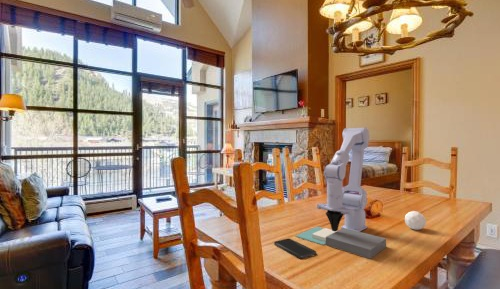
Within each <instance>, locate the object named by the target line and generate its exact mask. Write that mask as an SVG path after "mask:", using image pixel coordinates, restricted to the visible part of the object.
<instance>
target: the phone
mask: <svg viewBox="0 0 500 289" xmlns="http://www.w3.org/2000/svg"><path fill="white" fill-rule="evenodd" d="M273 242H274V243H273V245H274V246H276V247H277V248H279V249H281V250H282V251H285V252H286V253H288V254H289V255H291V256H293V257H295V258H296V259H299V260H304V259H307V258H310V257H314V256H317V251H316V250H314V249H312V248H310V247H308V246H306V245H304V244H303V243H300V242H298V241H296V240H294V239H292V238H290V237H289V238H285V239H284V238H282V239H279V240H276V241H273Z"/></svg>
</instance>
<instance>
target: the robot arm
mask: <svg viewBox="0 0 500 289" xmlns="http://www.w3.org/2000/svg"><path fill="white" fill-rule="evenodd" d="M341 136H342V143H341V146H340V149H339V150H337V151H336V152H335V153H334V155H333V157H332V159H331V161H330V163H329V164H327V165H326V166H325V167H324V171H323V174H324V178H325V184H326V203H322V202H320V203H316V209H317V210H324V211H326V212H325V216H326V217H327V220H328V221H329V224H330V229H331V230H332V231H339V225H340V223H341V220H342V218H343V216H344V225H342V226H340V228H341V229H343V228H346V229H350V230H354V231H358V232H362V231H364V230H366V229H367V228H368V227H369V226H367V225H366V210H365V208H367V204H368V198H367V195H368V192H367V191H366V190H365V189H364V188H363V187H362V186H361V185H362V184H361V183H362V174H363V164H364V154H365V150H366V149H367V148H369V143H370V131H369V128H368V127H355V128H354V127H350V128H349V127H348V128H347V127H345V128H344V129H343V131H342V135H341ZM350 153H351V156H350V155H349V154H350ZM350 157H351V160H350ZM349 161H350V170H349V178H348V184H347V185H345V186H343V180H344V179H345V177H346V171H347V167H346V166H347V165H348V163H349ZM343 187H344V188H343ZM351 192H357V193H351ZM358 193H359V194H358Z"/></svg>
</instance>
